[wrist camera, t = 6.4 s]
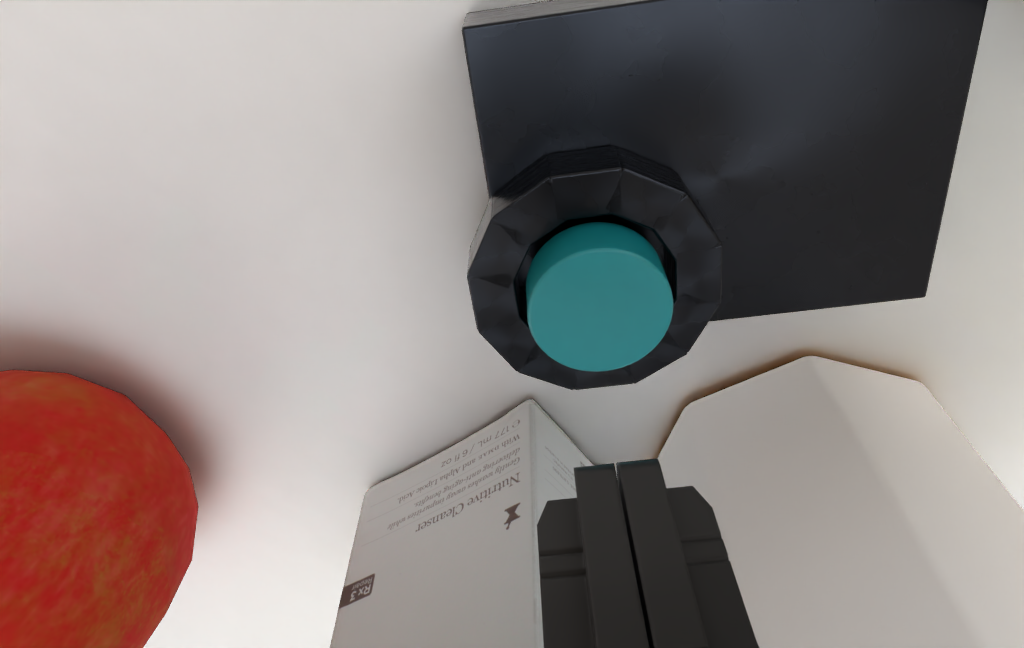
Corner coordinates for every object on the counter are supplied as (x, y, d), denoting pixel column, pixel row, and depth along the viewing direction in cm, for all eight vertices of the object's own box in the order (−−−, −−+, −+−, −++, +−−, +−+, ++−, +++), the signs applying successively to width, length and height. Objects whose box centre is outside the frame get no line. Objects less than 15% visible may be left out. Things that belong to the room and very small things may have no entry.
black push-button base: (493, 332, 23) (490, 400, 20) (436, 17, 18) (422, 47, 15) (892, 287, 22) (949, 351, 20) (955, -60, 17) (1045, -43, 14)
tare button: (534, 346, 20) (536, 380, 19) (517, 230, 18) (517, 259, 17) (664, 331, 20) (675, 364, 18) (661, 212, 18) (673, 239, 16)
